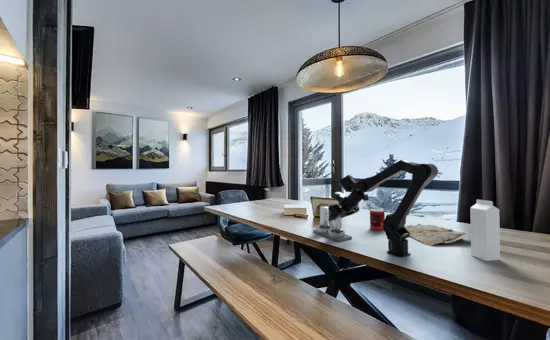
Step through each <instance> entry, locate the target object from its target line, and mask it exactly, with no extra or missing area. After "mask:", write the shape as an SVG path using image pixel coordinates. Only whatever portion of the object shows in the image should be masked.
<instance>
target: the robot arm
mask: <svg viewBox="0 0 550 340" xmlns="http://www.w3.org/2000/svg"><path fill="white" fill-rule="evenodd" d="M403 172H406V173H408V174H412V176H411V182H410V185H409V187H408V188H407V190H406V192H405V194H404V195H403V197H402V199H401V201H400V202H399V204H398V205H397V208H396V210H395V211H394V212H392V213H389V214H386V215H385V220H384V221H383V222H382V223H384V224H383V226H382V228H383V231H384V233H385V236H386V239H387V240H388V241H387V242H388V243H387V245H388V246H387V247H388V250H387V251H386V253H388V254H390V255H393V256H396V257H399V258H403V257H407V256H410V255H411V254H412V253H411V252H409V240H408V238H410V233H409V231H408V230H407V229H406V228H405V227H404V226H406V223H407V221H406V220H407V216H408V215H409V213H410V211H411V209H413V207H414V205H415V204H416V202H417V200H418V198H419V197H420V195H421V193H422V192H423V190H424V188H426V186H428V185H429V184H430V183H431V182H432V181H433V180H434V179H435V178H436V177H437V175H438V173H439V169H438V167H437V166H436V165H435V164H433V163H419V162H413V161H408V160H404V159H403V160H402V159H401V160H398V161H397V162H395V163H393V164H392V165H391V166H388V167H387V168H385V169H384V170H382V171H380V172H378V173H376V174H375V175H372V176H369V177H366V178H363V179H360V180H359V181H355V179H354V178H353V177H352V175H351V174H347V175H346V176H344V177H343V178H341V179H339V181H338V184H339V185H340V187H342V189H343V190H344V191H345V192H346V193H349V194H348V196H347V195H346V194H345V193H343V192H341V191H336V192H334V193H333V194H332V195H331V197H332V199H334V200H335V201H337V202H338V204H330V205H329V206H327V207H328V209H329V212H330V214H329V219H328V220H329V222H332V220H334V219H337V218H339V217H340V216H341V219H343V218H345V217H348V216H352V215H355V214H356V213H358V212H359V211H360V207H359V204H360V202H361V201H362V200H363V201H364V202H365V201H366V202H367V201H369V200H370V199H369V192H373V191H374V190H376V189H377V188H378V187H379V186H380V185H381V184H382V183H384V182H385V181H388V180H390V179H392V178H393V177H395V176H397V175H399V174H401V173H403ZM366 193H368V194H366ZM339 206H340V207H339Z"/></svg>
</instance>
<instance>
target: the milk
mask: <svg viewBox="0 0 550 340" xmlns="http://www.w3.org/2000/svg"><path fill="white" fill-rule="evenodd" d="M475 201H476V203H475V204H473V205H472V206H470V210H469V211H470V212H469V214H470V215H469V216H470V217H469V218H470V234H471V236H470V255H471V256H472V257H474V258H477V259H480V260H483V261H485V262H490V261H491V262H493V261H500V260H501V242H500V241H501V236H500V235H501V233H500V226H501V225H500V224H501V223H500V222H501V221H500V209H499V208H497V207H496V206H495V205H494V202H493V201H492V200H485V199H484V200H483V199H479V198H478V199H476V200H475Z"/></svg>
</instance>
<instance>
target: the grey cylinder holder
mask: <svg viewBox="0 0 550 340" xmlns="http://www.w3.org/2000/svg"><path fill="white" fill-rule="evenodd" d="M328 207H329V206H323V205H321V206H319V218H320V219H319V220H320V221H319V225H318V226H316V229H313V230H312V231H313V232H312V233H314V234H316V235H319V236H321V237H324V238H327V239H329V240H332V241H334V242H337V243H340V242H344V241H349V240H352V239H353V236H351V235H348V234H346V230H344V229H342V233H333V232H332V225H330V221H329V220H328V219H329V216H330V214H329V212H330V210H329V209H328Z"/></svg>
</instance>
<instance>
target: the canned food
mask: <svg viewBox="0 0 550 340" xmlns="http://www.w3.org/2000/svg"><path fill="white" fill-rule="evenodd" d="M385 214H386V213H385V209H382V208H370V209H369V224H370V225H369V227H370V230H372V231H375V230H376V232H380V231H381V232H383V231H384V230H383V228H382V226H383V224H384V223H382V222H383V221H384V220H385V218H386V215H385ZM382 230H383V231H382Z"/></svg>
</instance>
